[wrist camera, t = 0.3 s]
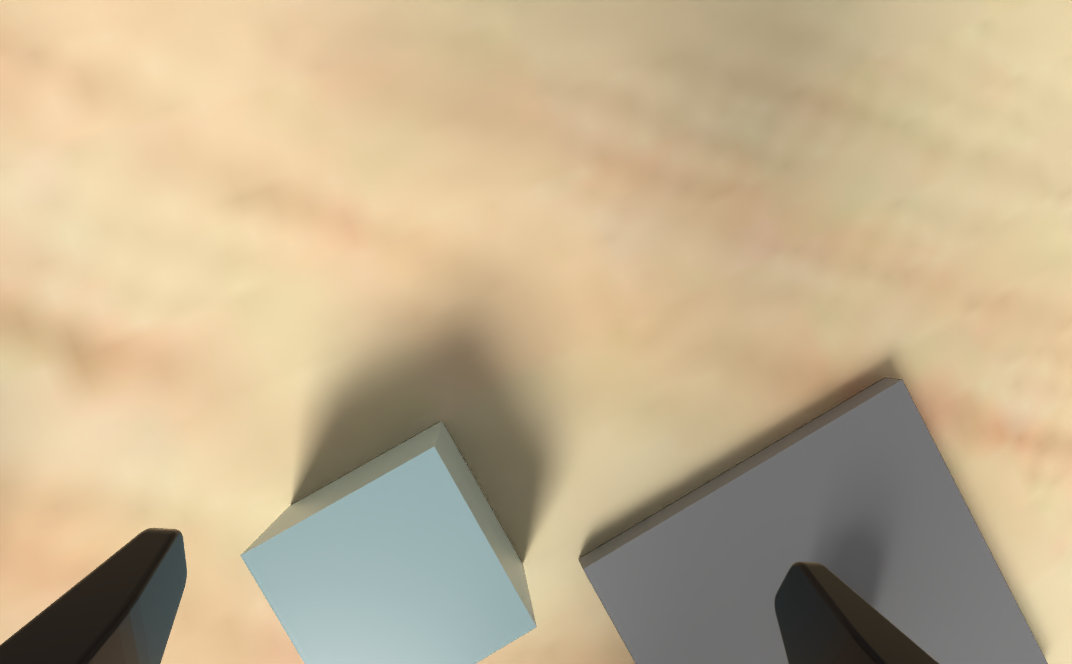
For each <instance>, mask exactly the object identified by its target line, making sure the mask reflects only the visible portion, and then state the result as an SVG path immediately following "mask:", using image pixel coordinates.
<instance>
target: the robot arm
mask: <svg viewBox="0 0 1072 664" xmlns="http://www.w3.org/2000/svg"><path fill="white" fill-rule="evenodd" d="M186 577H187V567H186V559H185V551H184V542H183V536H182V533H181V532H180V531H179V530H176V529H163V528H149V529H146V530H144V531H143V532H141V533H140V534H139V535H137V536H136V537H135V538H134V539H132V540H131V541H130V542H129V543H127V544H126V545H125V546H124V547H122V548H121V549H120V550H119V551H117V552H116V553H115V554H114V555H112V556H111V557H110V558H109V559H107V560H106V561H105V562H104V563H102V564H101V565H100V566H99V567H97V568H96V569H95V570H94V571H92V572H91V573H90V574H89V575H87V576H86V577H85V578H84V579H82V580H81V581H80V582H79V583H77V584H76V585H75V586H74V587H72V588H71V589H70V590H69V591H67V592H66V593H65V594H64V595H62V596H61V597H60V598H59V599H57V600H56V601H55V602H54V603H52V604H51V605H50V606H49V607H47V608H46V609H45V610H44V611H42V612H41V613H40V614H39V615H37V616H36V617H35V618H34V619H32V620H31V621H30V622H29V623H27V624H26V625H25V626H24V627H22V628H21V629H20V630H19V631H17V632H16V633H15V634H14V635H12V636H11V637H10V638H9V639H7V640H6V641H5V642H4V643H2V644H1V645H0V664H160V663H161V660H162V657H163V654H164V650H165V647H166V644H167V641H168V638H169V635H170V632H171V629H172V625H173V622H174V619H175V616H176V613H177V610H178V607H179V604H180V600H181V597H182V594H183V591H184V588H185V583H186ZM774 607H775V613H776V617H777V621H778V625H779V629H780V633H781V637H782V641H783V644H784V648H785V652H786V656H787V660H788V664H939V663H938V662H937V661H936V660H935V659H933V658H932V657H931V656H930V655H929V654H927V653H926V652H925V651H924V650H923V649H922V648H920V647H919V646H918V645H917V644H916V643H915V642H913V641H912V640H911V639H910V638H909V637H908V636H906V635H905V634H904V633H903V632H902V631H900V630H899V629H898V628H897V627H896V626H895V625H893V624H892V623H891V622H890V621H889V620H888V619H886V618H885V617H884V616H883V615H882V614H881V613H879V612H878V611H877V610H876V609H875V608H873V607H872V606H871V605H870V604H869V603H868V602H866V601H865V600H864V599H863V598H862V597H861V596H859V595H858V594H857V593H856V592H855V591H854V590H852V589H851V588H850V587H849V586H848V585H846V584H845V583H844V582H843V581H842V580H841V579H839V578H838V577H837V576H836V575H835V574H834V573H832V572H831V571H830V570H829V569H828V568H827V567H825V566H824V565H822V564H820V563H816V562H795V563H794V564H792V565H791V567H790V569H789V570H788V572H787V574H786V576H785V578H784V580H783V582H782V583H781V585H780V587H779V589H778V591H777V593H776V595H775V600H774Z"/></svg>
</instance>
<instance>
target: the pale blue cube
mask: <svg viewBox="0 0 1072 664" xmlns="http://www.w3.org/2000/svg"><path fill="white" fill-rule="evenodd" d="M241 557H242V559H243V560H244V562H245V564H246V566H247V567H248V569H249V571H250V572H251V574H252V576H253V577H254V579H255V581H256V582H257V584H258V586H259V587H260V589H261V591H262V592H263V594H264V596H265V598H266V599H267V601H268V603H269V604H270V606H271V608H272V609H273V611H274V613H275V614H276V616H277V618H278V619H279V621H280V623H281V625H282V626H283V628H284V630H285V631H286V633H287V635H288V636H289V638H290V640H291V641H292V643H293V645H294V646H295V648H296V650H297V651H298V653H299V655H300V657H301V658H302V660H303V662H304V663H305V664H476V663H477V662H479V661H481V660H482V659H484V658H486V657H487V656H489V655H491V654H492V653H494V652H496V651H497V650H499V649H501V648H502V647H504V646H506V645H507V644H509V643H511V642H512V641H514V640H516V639H518V638H519V637H521V636H523V635H524V634H526V633H528V632H529V631H531V630H533V629H534V628H536V622H535V618H534V613H533V608H532V604H531V599H530V594H529V590H528V585H527V581H526V576H525V571H524V567H523V564H522V562H521V560H520V558H519V556H518V555H517V553H516V551H515V549H514V548H513V546H512V544H511V542H510V541H509V539H508V537H507V535H506V533H505V532H504V530H503V528H502V526H501V525H500V523H499V521H498V519H497V517H496V516H495V514H494V512H493V510H492V509H491V507H490V505H489V503H488V501H487V500H486V498H485V496H484V494H483V493H482V491H481V489H480V487H479V485H478V484H477V482H476V480H475V478H474V477H473V475H472V473H471V471H470V469H469V468H468V466H467V464H466V462H465V461H464V459H463V457H462V455H461V454H460V452H459V450H458V448H457V446H456V445H455V443H454V441H453V439H452V438H451V436H450V434H449V432H448V430H447V429H446V427H445V425H444V423H443V422H442V421H441V422H439V423H437V424H435V425H433V426H432V427H430V428H428V429H426V430H425V431H423V432H421V433H419V434H417V435H416V436H414V437H412V438H410V439H408V440H407V441H405V442H403V443H401V444H400V445H398V446H396V447H394V448H392V449H391V450H389V451H387V452H385V453H383V454H382V455H380V456H378V457H376V458H374V459H373V460H371V461H369V462H367V463H366V464H364V465H362V466H360V467H358V468H357V469H355V470H353V471H351V472H349V473H348V474H346V475H344V476H342V477H341V478H339V479H337V480H335V481H333V482H332V483H330V484H328V485H326V486H324V487H323V488H321V489H319V490H317V491H316V492H314V493H312V494H310V495H308V496H307V497H305V498H303V499H301V500H299V501H298V502H296V503H294V504H292V505H291V506H289V507H288V508H287V509H286V510H285V511H284V512H283V513H282V514H281V515H280V516H279V517H278V518H277V519H276V520H275V521H274V522H273V523H272V524H271V525H270V526H269V527H268V528H267V529H266V530H265V531H264V532H263V533H262V534H261V535H260V536H259V537H258V538H257V539H256V540H255V541H254V542H253V543H252V544H251V545H250V546H249V547H248V548H247V549H246V550H245V551H244V552H243V553H242V554H241Z"/></svg>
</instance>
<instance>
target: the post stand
mask: <svg viewBox="0 0 1072 664" xmlns="http://www.w3.org/2000/svg"><path fill="white" fill-rule="evenodd" d="M579 561H580V563H581V566H582V568H583V570H584V572H585V573H586V575H587V577H588V579H589V581H590V582H591V584H592V586H593V588H594V590H595V591H596V593H597V595H598V597H599V599H600V600H601V602H602V604H603V606H604V608H605V609H606V611H607V613H608V615H609V617H610V618H611V620H612V622H613V624H614V625H615V627H616V629H617V631H618V633H619V634H620V636H621V638H622V640H623V642H624V643H625V645H626V647H627V649H628V651H629V652H630V654H631V656H632V658H633V660H634V661H635V663H636V664H788V660H787V656H786V652H785V648H784V644H783V641H782V637H781V633H780V629H779V625H778V621H777V617H776V613H775V607H774V600H775V595H776V593H777V591H778V589H779V587H780V585H781V583H782V582H783V580H784V578H785V576H786V574H787V572H788V570H789V569H790V567H791V565H792V564H794V563H795V562H816V563H820V564H822V565H824V566H825V567H827V568H828V569H829V570H830V571H831V572H832V573H834V574H835V575H836V576H837V577H838V578H839V579H841V580H842V581H843V582H844V583H845V584H846V585H848V586H849V587H850V588H851V589H852V590H854V591H855V592H856V593H857V594H858V595H859V596H861V597H862V598H863V599H864V600H865V601H866V602H868V603H869V604H870V605H871V606H872V607H873V608H875V609H876V610H877V611H878V612H879V613H881V614H882V615H883V616H884V617H885V618H886V619H888V620H889V621H890V622H891V623H892V624H893V625H895V626H896V627H897V628H898V629H899V630H900V631H902V632H903V633H904V634H905V635H906V636H908V637H909V638H910V639H911V640H912V641H913V642H915V643H916V644H917V645H918V646H919V647H920V648H922V649H923V650H924V651H925V652H926V653H927V654H929V655H930V656H931V657H932V658H933V659H935V660H936V661H937V662H938V663H939V664H1048V663H1047V661H1046V659H1045V657H1044V655H1043V654H1042V652H1041V650H1040V648H1039V646H1038V644H1037V642H1036V640H1035V638H1034V636H1033V634H1032V632H1031V630H1030V628H1029V626H1028V624H1027V622H1026V620H1025V618H1024V616H1023V614H1022V613H1021V611H1020V609H1019V607H1018V605H1017V603H1016V601H1015V599H1014V597H1013V595H1012V593H1011V591H1010V589H1009V587H1008V585H1007V583H1006V581H1005V579H1004V577H1003V575H1002V574H1001V572H1000V570H999V568H998V566H997V564H996V562H995V560H994V558H993V556H992V554H991V552H990V550H989V548H988V546H987V544H986V542H985V540H984V538H983V536H982V534H981V533H980V531H979V529H978V527H977V525H976V523H975V521H974V519H973V517H972V515H971V513H970V511H969V509H968V507H967V505H966V503H965V501H964V499H963V497H962V495H961V493H960V492H959V490H958V488H957V486H956V484H955V482H954V480H953V478H952V476H951V474H950V472H949V470H948V468H947V466H946V464H945V462H944V460H943V458H942V456H941V454H940V452H939V451H938V449H937V447H936V445H935V443H934V441H933V439H932V437H931V435H930V433H929V431H928V429H927V427H926V425H925V423H924V421H923V419H922V417H921V415H920V413H919V411H918V410H917V408H916V406H915V404H914V402H913V400H912V398H911V396H910V394H909V392H908V390H907V388H906V386H905V384H904V382H903V380H901V379H893V378H886V377H885V378H884V379H882V380H880V381H878V382H877V383H875V384H873V385H872V386H870V387H868V388H867V389H865V390H863V391H862V392H860V393H858V394H857V395H855V396H853V397H851V398H850V399H848V400H846V401H845V402H843V403H841V404H840V405H838V406H836V407H835V408H833V409H831V410H829V411H828V412H826V413H824V414H823V415H821V416H819V417H818V418H816V419H814V420H813V421H811V422H809V423H808V424H806V425H804V426H802V427H801V428H799V429H797V430H796V431H794V432H792V433H791V434H789V435H787V436H786V437H784V438H782V439H780V440H779V441H777V442H775V443H774V444H772V445H770V446H769V447H767V448H765V449H764V450H762V451H760V452H758V453H757V454H755V455H753V456H752V457H750V458H748V459H747V460H745V461H743V462H742V463H740V464H738V465H737V466H735V467H733V468H731V469H730V470H728V471H726V472H725V473H723V474H721V475H720V476H718V477H716V478H715V479H713V480H711V481H709V482H708V483H706V484H704V485H703V486H701V487H699V488H698V489H696V490H694V491H693V492H691V493H689V494H688V495H686V496H684V497H682V498H681V499H679V500H677V501H676V502H674V503H672V504H671V505H669V506H667V507H666V508H664V509H662V510H660V511H659V512H657V513H655V514H654V515H652V516H650V517H649V518H647V519H645V520H644V521H642V522H640V523H639V524H637V525H635V526H633V527H632V528H630V529H628V530H627V531H625V532H623V533H622V534H620V535H618V536H617V537H615V538H613V539H611V540H610V541H608V542H606V543H605V544H603V545H601V546H600V547H598V548H596V549H595V550H593V551H591V552H589V553H588V554H586V555H584V556H583V557H581V558H579Z"/></svg>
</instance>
